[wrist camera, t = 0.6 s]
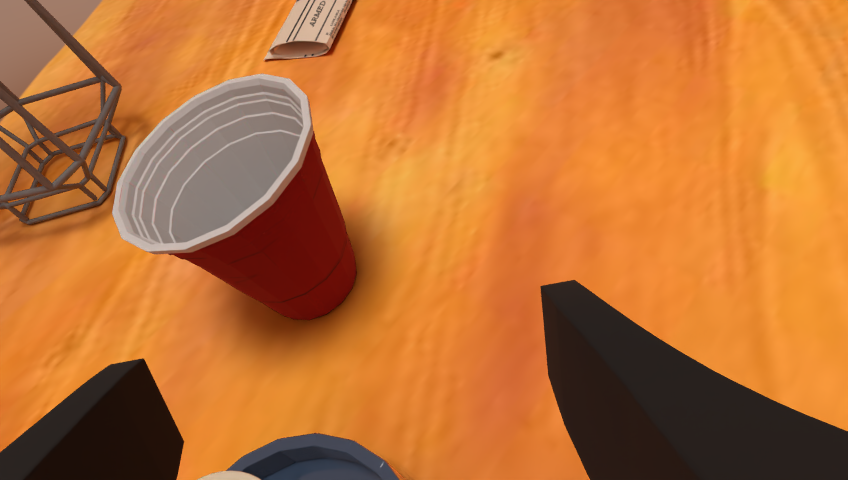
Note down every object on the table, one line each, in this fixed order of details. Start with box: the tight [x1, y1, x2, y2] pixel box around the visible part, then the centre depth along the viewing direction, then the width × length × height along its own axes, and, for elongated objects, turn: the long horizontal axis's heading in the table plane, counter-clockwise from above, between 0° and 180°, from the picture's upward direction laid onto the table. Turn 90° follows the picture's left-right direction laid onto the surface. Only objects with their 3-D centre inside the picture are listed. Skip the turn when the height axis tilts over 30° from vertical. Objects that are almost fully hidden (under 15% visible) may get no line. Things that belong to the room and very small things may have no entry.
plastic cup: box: [112, 74, 357, 320], centre depth 32 cm, size 11×11×12 cm
